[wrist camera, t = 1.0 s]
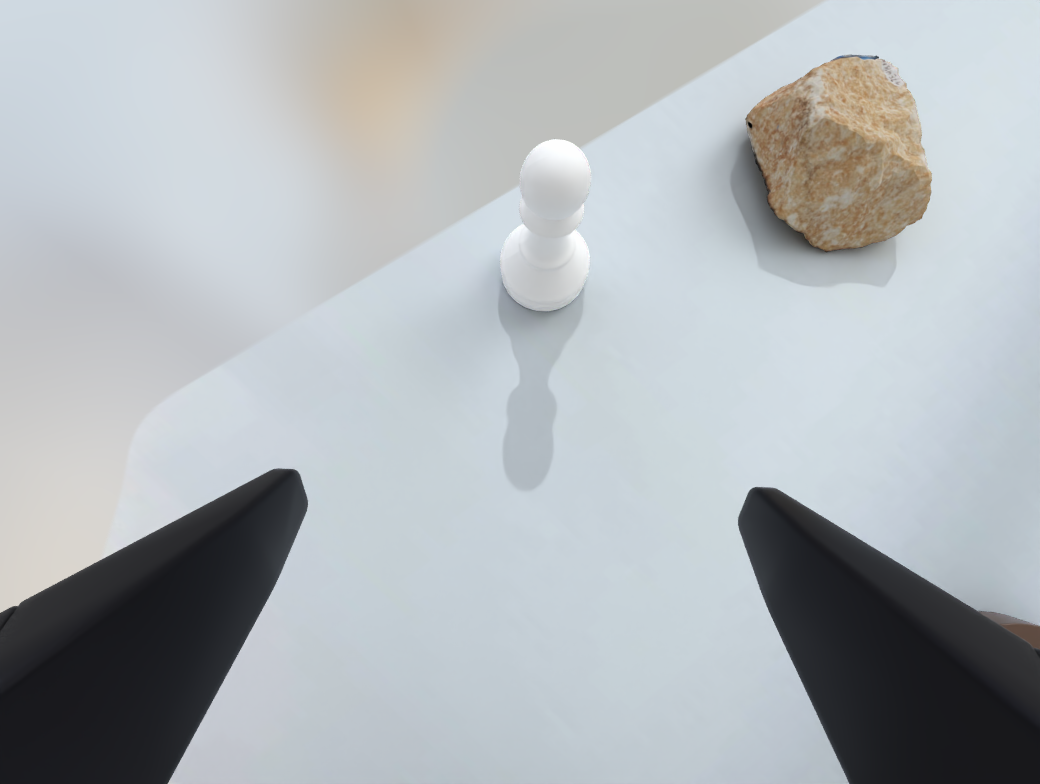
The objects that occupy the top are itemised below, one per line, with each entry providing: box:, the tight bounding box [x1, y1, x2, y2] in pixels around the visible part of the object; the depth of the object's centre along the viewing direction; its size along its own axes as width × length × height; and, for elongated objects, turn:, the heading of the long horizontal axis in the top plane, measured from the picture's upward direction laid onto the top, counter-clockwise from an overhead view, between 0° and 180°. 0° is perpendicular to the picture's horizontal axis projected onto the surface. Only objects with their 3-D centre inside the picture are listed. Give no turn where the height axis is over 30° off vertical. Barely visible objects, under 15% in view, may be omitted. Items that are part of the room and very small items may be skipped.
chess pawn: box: [500, 139, 591, 311], centre depth 18 cm, size 5×5×9 cm
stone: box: [746, 55, 932, 252], centre depth 22 cm, size 8×10×4 cm
